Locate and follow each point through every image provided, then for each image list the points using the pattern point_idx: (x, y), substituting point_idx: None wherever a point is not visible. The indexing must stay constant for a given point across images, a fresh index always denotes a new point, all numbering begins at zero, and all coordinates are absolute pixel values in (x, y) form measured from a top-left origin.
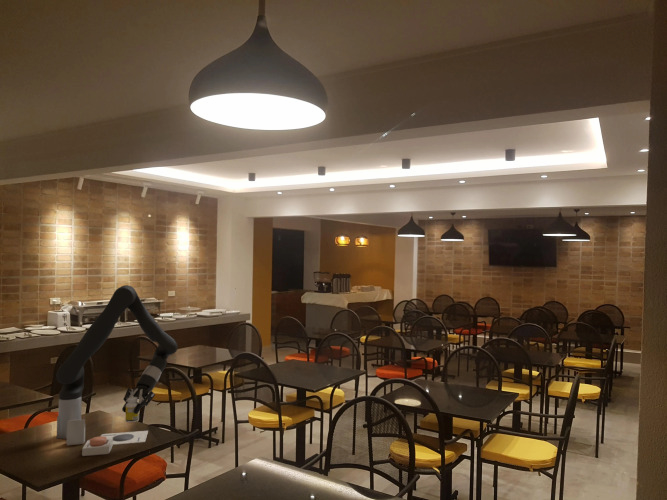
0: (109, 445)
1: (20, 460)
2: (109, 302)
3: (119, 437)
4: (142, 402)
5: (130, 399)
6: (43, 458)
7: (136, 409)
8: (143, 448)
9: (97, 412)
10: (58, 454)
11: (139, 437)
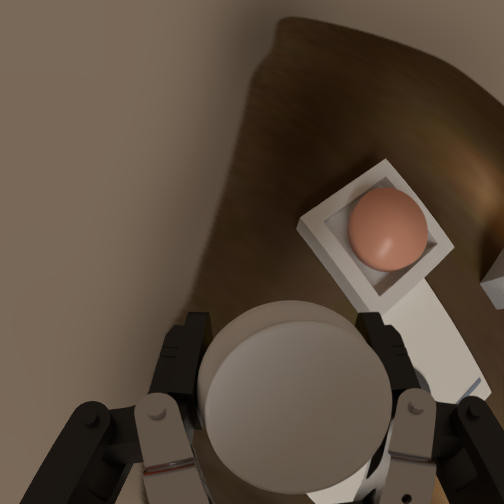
0: (309, 229)
1: (483, 108)
2: None
3: None
4: (127, 427)
5: (273, 325)
6: (456, 128)
7: (182, 342)
8: None
9: None
10: (455, 165)
11: None
